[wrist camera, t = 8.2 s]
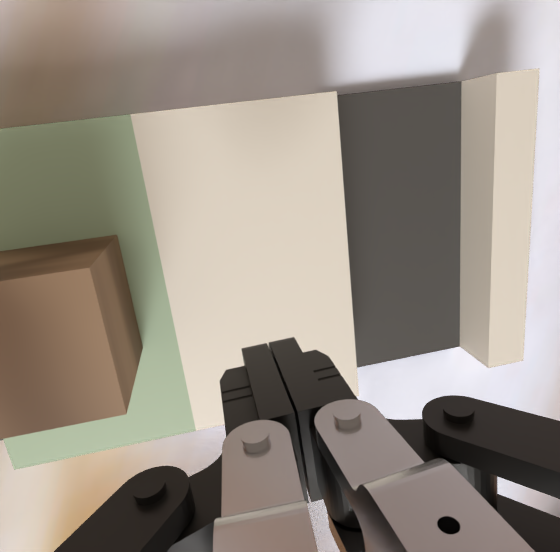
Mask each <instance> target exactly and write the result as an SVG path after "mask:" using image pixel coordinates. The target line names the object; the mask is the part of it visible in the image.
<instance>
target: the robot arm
mask: <svg viewBox="0 0 560 552" xmlns="http://www.w3.org/2000/svg"><path fill="white" fill-rule="evenodd" d="M241 350H242V356H243V361H244V366H241V367H236V368H232V369H227V370H226V371H225V372H224V374H223V376H222V377H221V379H220V389H221V398H222V406H223V414H224V422H225V430H226V438H225V440H224V442H223V446H222V454H221V456H220V457H219V458H218V459H217V460H216V461H215V462H214V463H213V464H211V465H210V466H208V467H207V468H205V469H204V470H202V471H200V472H198V473H196V474H194V475H192V476H190V477H188V476H187V474H186V473H185V472H184V471H183V470H181V469H179V468H177V467H173V466H159V467H154V468H151V469H148V470H145V471H143V472H141V473H139V474H137V475H135V476H134V477H132V478H131V479H129V480H128V481H127V482H126V483H124V484H123V485H122V486H121V487H120V488H119V489H118V490H117V491H116V492H115V493H114V494H113V495H112V496H111V497H110V498H109V499H108V500H107V501H106V502H105V503H104V504H103V505H102V506H101V507H100V508H98V509H97V510H96V511H95V512H94V513H93V514H92V515H91V516H90V517H89V518H88V519H87V520H86V521H85V522H84V523H83V524H82V525H81V526H80V527H79V528H78V529H77V530H76V531H75V532H74V533H73V534H72V535H71V536H70V537H68V538H67V539H66V540H65V541H64V542H63V543H62V544H61V545H60V546H59V547H58V548H57V549H56V550H55V551H54V552H318V550H317V545H316V541H315V537H314V532H313V528H312V523H311V519H310V515H309V510H308V506H307V503H309V502H308V495H307V490H308V493H309V496H310V499H311V502H314V501H317V500H321V499H323V500H324V503H325V505H326V508H327V514H328V521H329V528H330V531H331V533H332V535H333V538H334V540H335V542H336V544H337V546H338V548H339V550H340V552H560V518H558V517H556V516H553V515H551V514H548V513H546V512H543V511H540V510H538V509H535V508H533V507H530V506H527V505H525V504H522V503H520V502H517V501H514V500H512V499H509V498H507V497H504V496H502V495H499V494H497V476H498V477H501V478H504V479H506V480H509V481H512V482H515V483H517V484H520V485H523V486H526V487H528V488H531V489H534V490H537V491H540V492H542V493H545V494H548V495H551V496H553V497H556V498H558V499H560V421H557V420H554V419H550V418H546V417H542V416H538V415H535V414H531V413H527V412H523V411H519V410H516V409H512V408H508V407H504V406H500V405H497V404H493V403H489V402H485V401H481V400H478V399H474V398H470V397H465V396H443V397H439V398H436V399H433V400H431V401H430V402H428V403H427V404H426V405H425V406H424V408H423V411H422V419H415V420H393V419H386V418H385V417H384V416H383V415H382V414H381V413H380V411H379V410H378V409H377V408H376V407H375V406H373V405H372V404H370V403H367V402H365V401H361V400H358V399H357V398H356V396H355V395H354V393H353V392H352V390H351V389H350V387H349V386H348V384H347V383H346V381H345V380H344V378H343V377H342V376H341V374H340V372H339V371H338V369H337V368H336V367H335V365H334V363H333V362H332V360H331V359H330V357H329V356H327V355H326V354H324V353H322V352H320V351H318V350H312V351H307V352H302V350H301V348H300V347H299V345H298V343H297V341H296V339H295V338H294V337H291V338H286V339H282V340H277V341H273V342H269V347H268V344H267V343H264V344H259V345H255V346H250V347H245V348H241ZM306 487H307V489H306Z"/></svg>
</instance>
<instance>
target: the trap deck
mask: <svg viewBox="0 0 560 552" xmlns="http://www.w3.org/2000/svg"><path fill="white" fill-rule="evenodd" d="M538 86H539V68H538V69H529V70H520V71H511V72H503V73H495V74H491V75H487V76H482V77H478V78H474V79H469V80H465V81H460V82H451V83H442V84H434V85H425V86H416V87H407V88H398V89H389V90H381V91H372V92H363V93H354V94H345V95H337V91H333V92H324V93H315V94H306V95H297V96H288V97H279V98H270V99H261V100H252V101H243V102H235V103H226V104H217V105H208V106H199V107H190V108H181V109H172V110H163V111H154V112H145V113H136V114H127V115H118V116H109V117H101V118H92V119H83V120H74V121H65V122H56V123H47V124H38V125H29V126H20V127H11V128H2V129H0V251H5V250H12V249H19V248H27V247H34V246H41V245H48V244H55V243H62V242H69V241H76V240H83V239H90V238H97V237H104V236H111V235H117V236H118V240H119V245H120V249H121V253H122V258H123V262H124V267H125V271H126V275H127V280H128V284H129V289H130V293H131V297H132V302H133V306H134V311H135V315H136V319H137V324H138V328H139V333H140V337H141V341H142V346H143V349H142V354H141V358H140V362H139V366H138V370H137V374H136V378H135V382H134V386H133V390H132V394H131V398H130V402H129V406H128V411H127V414H126V415H121V416H115V417H110V418H105V419H100V420H95V421H90V422H85V423H80V424H75V425H70V426H65V427H60V428H55V429H50V430H45V431H40V432H35V433H30V434H25V435H20V436H15V437H10V438H5V439H0V440H4V443H5V446H6V448H7V451H8V454H9V456H10V459H11V462H12V465H13V467H14V470H15V469H20V468H25V467H29V466H34V465H39V464H43V463H48V462H53V461H57V460H62V459H67V458H71V457H76V456H81V455H85V454H90V453H95V452H99V451H104V450H109V449H113V448H118V447H123V446H127V445H132V444H137V443H141V442H146V441H151V440H155V439H160V438H165V437H169V436H174V435H179V434H183V433H188V432H193V431H197V430H202V429H207V428H211V427H216V426H221V425H225V422H224V414H223V406H222V398H221V389H220V379H221V377H222V376H223V374H224V372H225V371H226V370H227V369H232V368H236V367H241V366H244V361H243V356H242V350H241V348H245V347H250V346H255V345H259V344H264V343H267V344H268V347H269V342H273V341H277V340H282V339H286V338H291V337H294V338H295V339H296V341H297V343H298V345H299V347H300V348H301V350H302V352H307V351H312V350H318V351H320V352H322V353H324V354H326V355H327V356H329V357H330V359H331V360H332V362H333V363H334V365H335V367H336V368H337V369H338V371H339V372H340V374H341V376H342V377H343V378H344V380H345V381H346V383H347V384H348V386H349V387H350V389H351V390H352V392H353V393H354V395H355V396H359V390H358V377H357V367H362V366H366V365H371V364H376V363H381V362H386V361H391V360H396V359H401V358H405V357H410V356H415V355H420V354H425V353H430V352H435V351H440V350H445V349H449V348H454V347H459V346H460V347H461V348H463V349H464V350H465V351H466V352H468V353H469V354H470V355H472V356H473V357H474V358H476V359H477V360H478V361H480V362H481V363H482V364H484V365H485V366H486V367H487V368H491V367H496V366H500V365H505V364H510V363H514V362H519V361H523V355H524V337H525V319H526V301H527V283H528V265H529V247H530V229H531V211H532V194H533V176H534V158H535V140H536V122H537V104H538Z"/></svg>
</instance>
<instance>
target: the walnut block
mask: <svg viewBox="0 0 560 552" xmlns="http://www.w3.org/2000/svg"><path fill="white" fill-rule="evenodd" d="M142 349H143V346H142V341H141V337H140V333H139V328H138V324H137V319H136V315H135V311H134V306H133V302H132V297H131V293H130V289H129V284H128V280H127V275H126V271H125V267H124V262H123V258H122V253H121V249H120V245H119V240H118V236H117V235H111V236H104V237H97V238H90V239H83V240H76V241H69V242H62V243H55V244H48V245H41V246H34V247H27V248H19V249H12V250H5V251H0V439H5V438H10V437H15V436H20V435H25V434H30V433H35V432H40V431H45V430H50V429H55V428H60V427H65V426H70V425H75V424H80V423H85V422H90V421H95V420H100V419H105V418H110V417H115V416H121V415H126V414H127V411H128V406H129V402H130V398H131V394H132V390H133V386H134V382H135V378H136V374H137V370H138V366H139V362H140V358H141V354H142Z"/></svg>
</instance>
